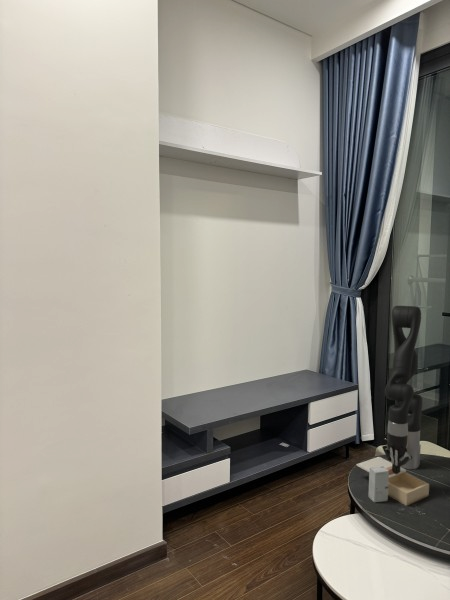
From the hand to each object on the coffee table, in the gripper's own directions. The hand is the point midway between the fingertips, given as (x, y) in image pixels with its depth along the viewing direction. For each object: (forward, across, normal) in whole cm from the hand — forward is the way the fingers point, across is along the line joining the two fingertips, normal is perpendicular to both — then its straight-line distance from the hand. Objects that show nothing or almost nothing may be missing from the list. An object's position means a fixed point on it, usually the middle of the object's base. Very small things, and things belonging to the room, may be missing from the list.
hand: (395, 472), depth 172 cm
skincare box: (+7, -1, +12) cm, 14 cm away
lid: (+1, +7, 0) cm, 7 cm away
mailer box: (+7, -4, 0) cm, 8 cm away
